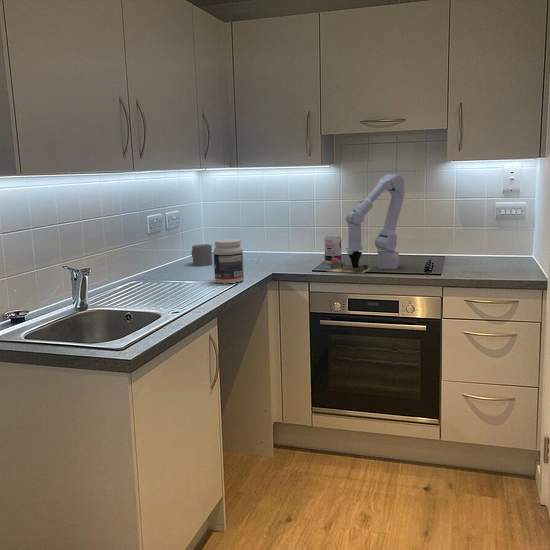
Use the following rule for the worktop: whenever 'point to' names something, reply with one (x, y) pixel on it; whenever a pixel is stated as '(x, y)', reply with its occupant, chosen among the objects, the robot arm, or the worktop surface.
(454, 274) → the worktop surface
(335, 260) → the tab
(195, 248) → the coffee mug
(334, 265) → the tongs body
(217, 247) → the supplement tub
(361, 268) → the bar
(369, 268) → the board
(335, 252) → the supplement can
